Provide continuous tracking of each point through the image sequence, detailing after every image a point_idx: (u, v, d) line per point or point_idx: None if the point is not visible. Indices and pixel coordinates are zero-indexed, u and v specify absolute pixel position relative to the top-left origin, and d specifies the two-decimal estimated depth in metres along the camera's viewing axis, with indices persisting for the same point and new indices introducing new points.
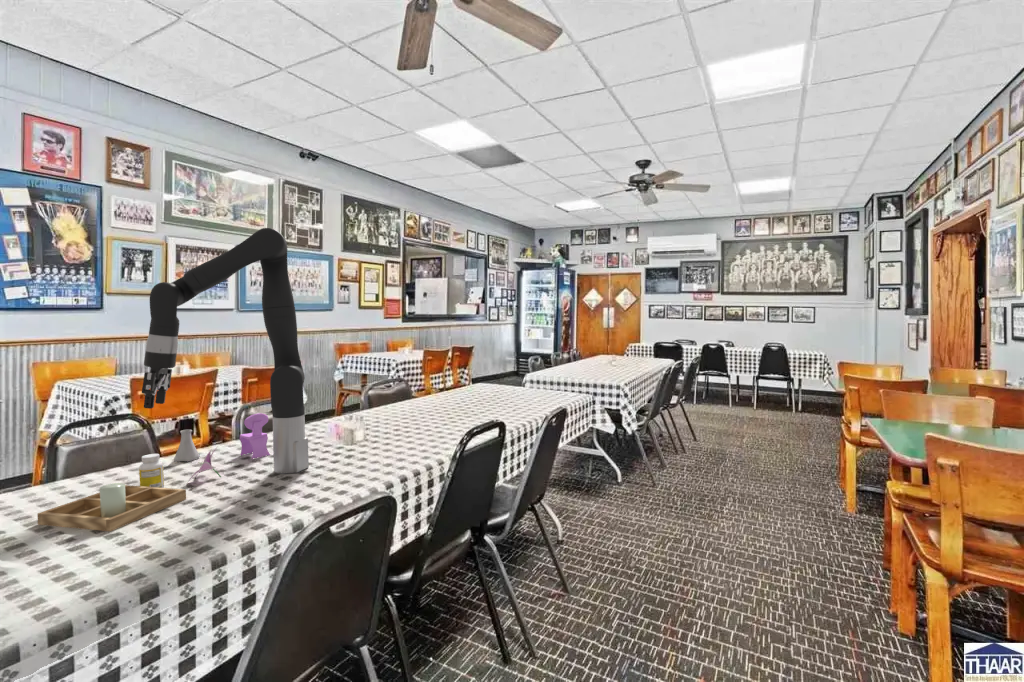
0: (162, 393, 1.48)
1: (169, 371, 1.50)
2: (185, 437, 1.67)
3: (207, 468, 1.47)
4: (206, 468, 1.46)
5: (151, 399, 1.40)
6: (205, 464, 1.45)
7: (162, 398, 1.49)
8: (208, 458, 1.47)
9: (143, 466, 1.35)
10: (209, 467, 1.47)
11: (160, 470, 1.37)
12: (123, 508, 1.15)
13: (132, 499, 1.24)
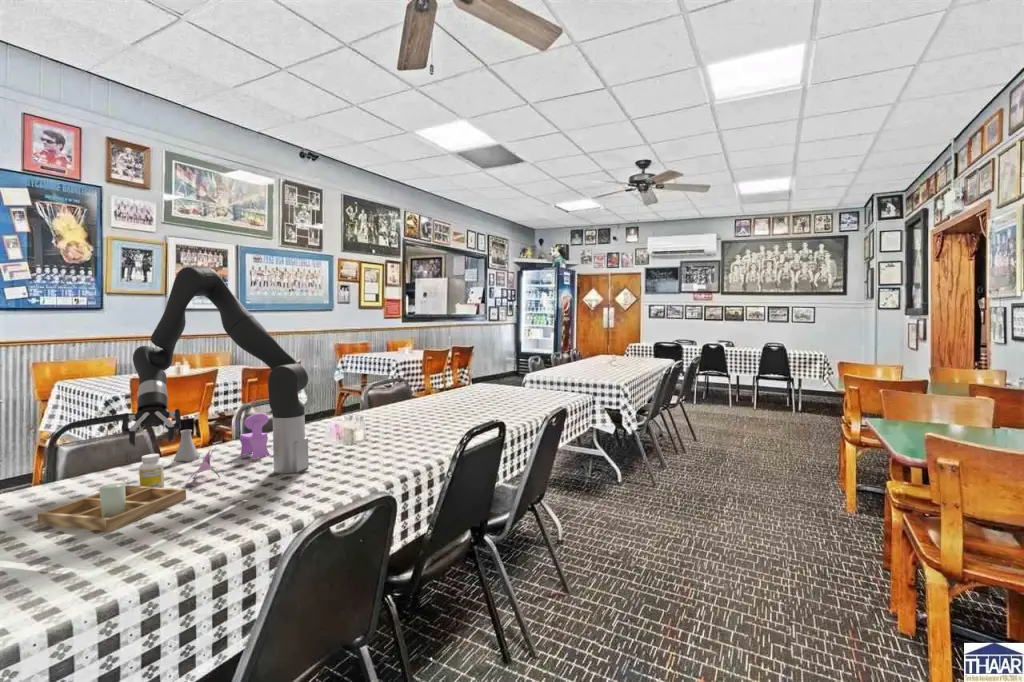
0: (168, 431, 1.48)
1: (175, 411, 1.52)
2: (185, 437, 1.67)
3: (206, 468, 1.46)
4: (205, 468, 1.46)
5: (130, 435, 1.42)
6: (204, 464, 1.45)
7: (168, 434, 1.47)
8: (207, 458, 1.46)
9: (143, 466, 1.35)
10: (208, 467, 1.47)
11: (160, 470, 1.37)
12: (123, 508, 1.15)
13: (132, 499, 1.24)
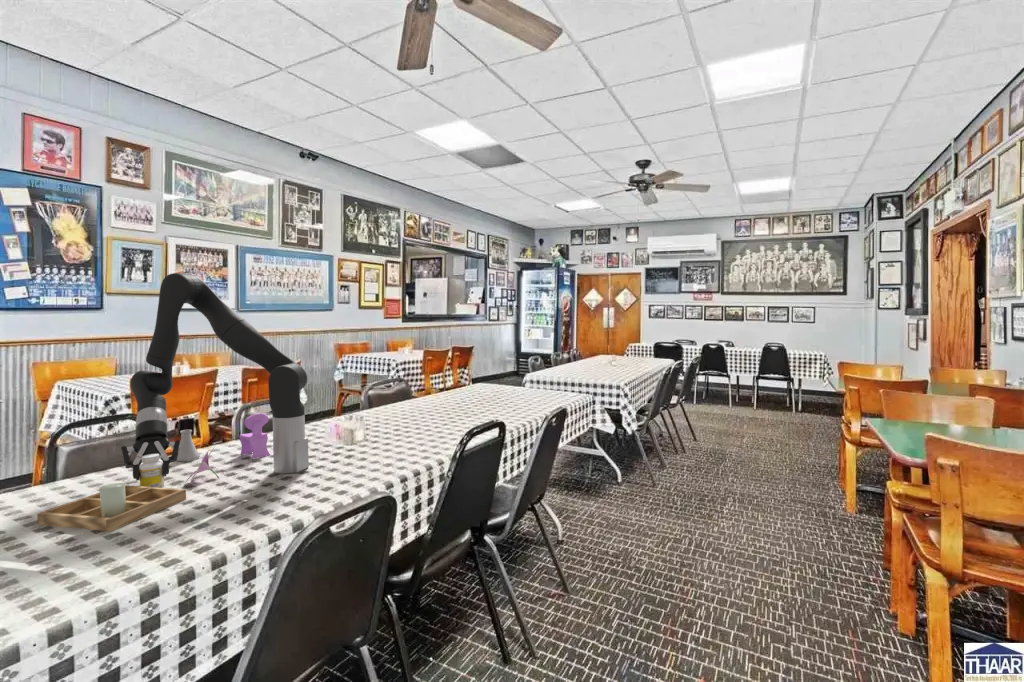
0: None
1: (175, 442, 1.44)
2: (185, 437, 1.67)
3: (205, 469, 1.46)
4: (204, 469, 1.46)
5: (134, 469, 1.35)
6: (203, 465, 1.45)
7: None
8: (206, 458, 1.46)
9: (143, 466, 1.35)
10: (207, 468, 1.46)
11: (160, 470, 1.37)
12: (123, 508, 1.15)
13: (132, 499, 1.24)
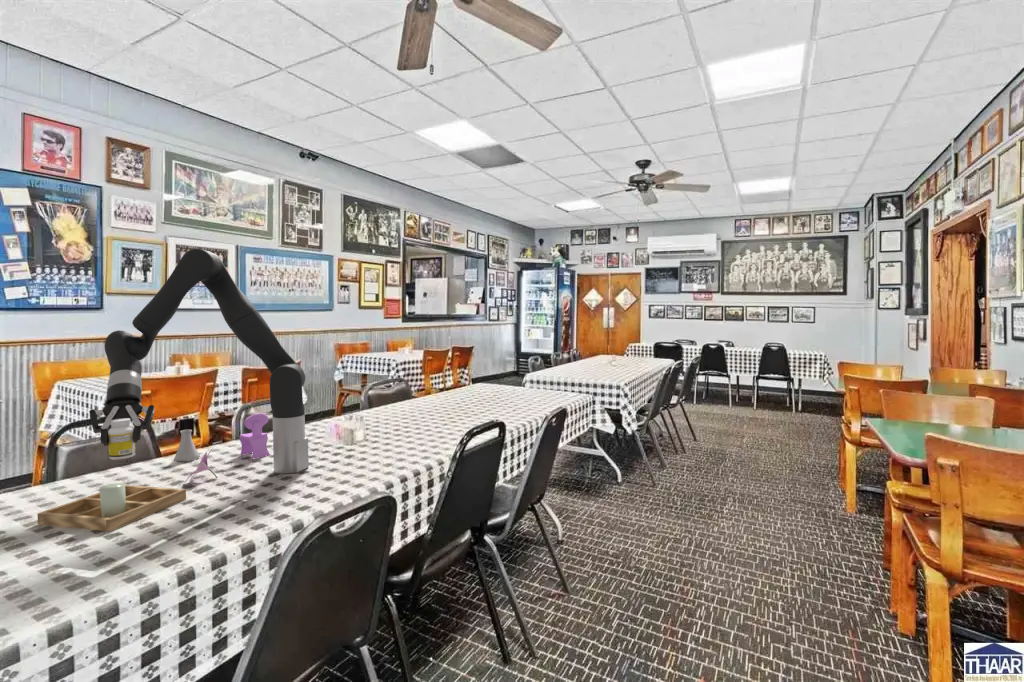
0: (134, 430, 1.29)
1: (148, 407, 1.34)
2: (185, 437, 1.67)
3: (203, 469, 1.46)
4: (202, 469, 1.45)
5: (102, 434, 1.26)
6: (201, 465, 1.44)
7: None
8: (204, 459, 1.46)
9: (112, 430, 1.26)
10: (205, 468, 1.46)
11: (130, 435, 1.28)
12: (123, 508, 1.15)
13: (132, 499, 1.24)
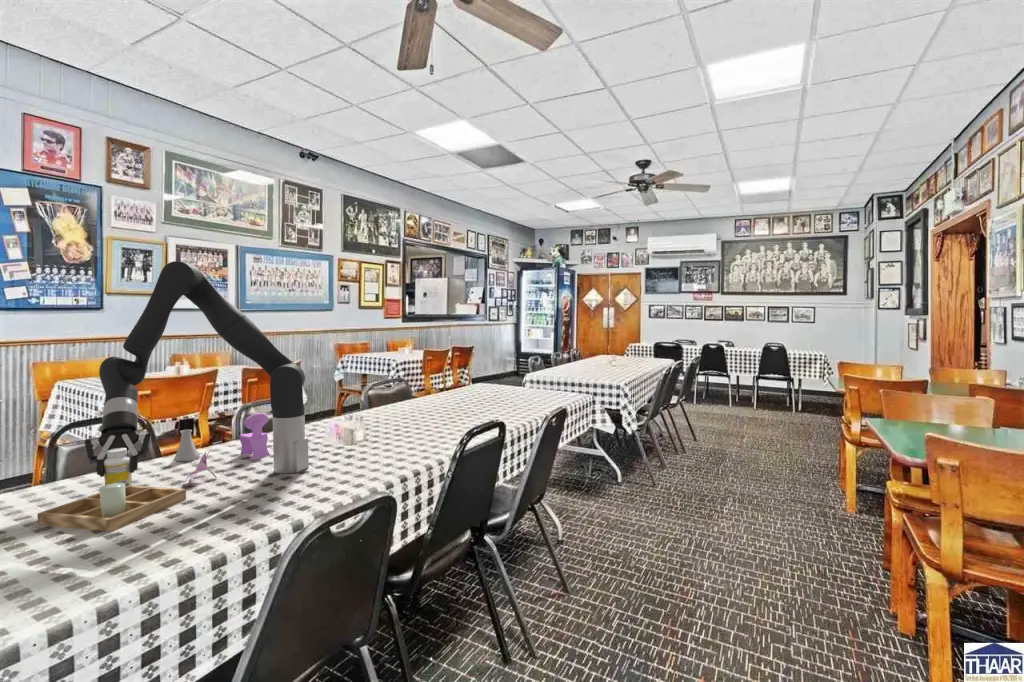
0: (130, 460, 1.28)
1: (145, 435, 1.33)
2: (185, 437, 1.67)
3: (203, 469, 1.46)
4: (202, 469, 1.45)
5: (98, 464, 1.24)
6: (201, 465, 1.44)
7: (130, 464, 1.27)
8: (204, 459, 1.46)
9: (108, 461, 1.24)
10: (205, 468, 1.46)
11: (127, 465, 1.26)
12: (123, 508, 1.15)
13: (132, 499, 1.24)
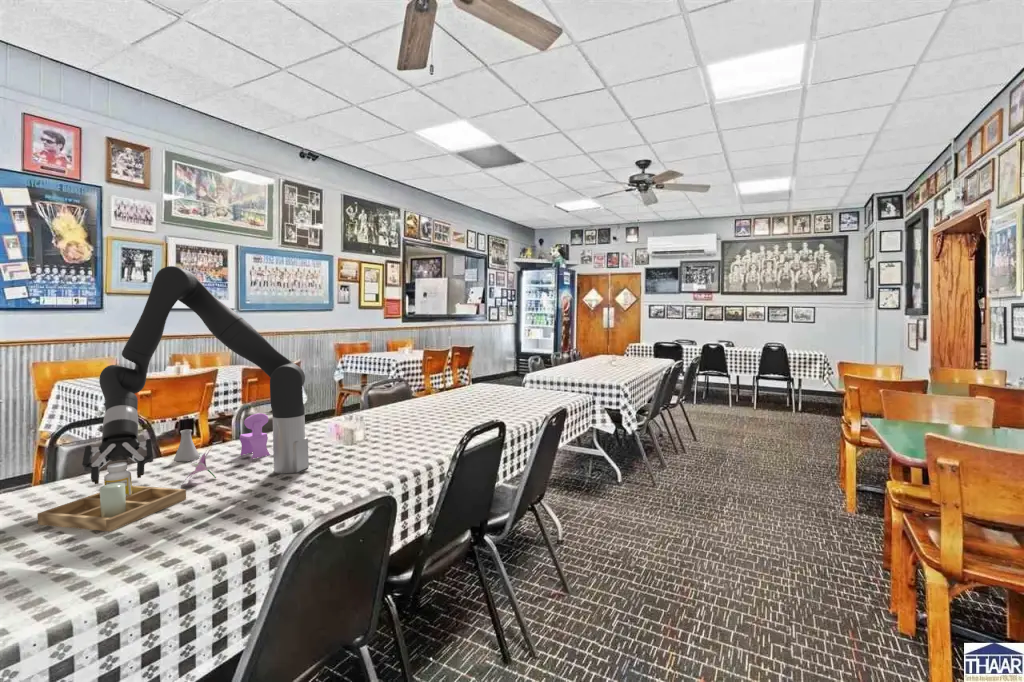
0: (137, 465, 1.29)
1: (146, 441, 1.33)
2: (185, 437, 1.67)
3: (202, 469, 1.45)
4: (201, 469, 1.45)
5: (92, 472, 1.23)
6: (200, 465, 1.44)
7: (137, 469, 1.28)
8: (203, 459, 1.46)
9: (108, 476, 1.24)
10: (204, 468, 1.46)
11: (127, 480, 1.26)
12: (123, 508, 1.15)
13: (132, 499, 1.24)
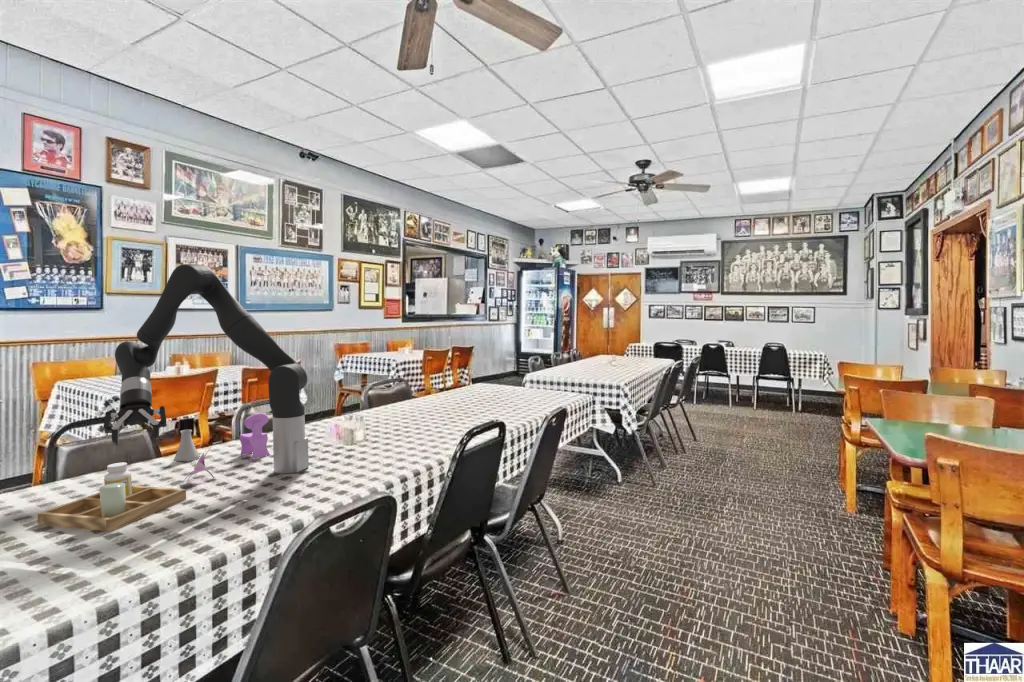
0: None
1: (159, 408, 1.47)
2: (185, 437, 1.67)
3: (201, 469, 1.45)
4: (200, 469, 1.45)
5: (113, 434, 1.37)
6: (199, 465, 1.44)
7: None
8: (202, 459, 1.45)
9: (108, 476, 1.24)
10: (203, 468, 1.46)
11: (127, 480, 1.26)
12: (123, 508, 1.15)
13: (132, 499, 1.24)
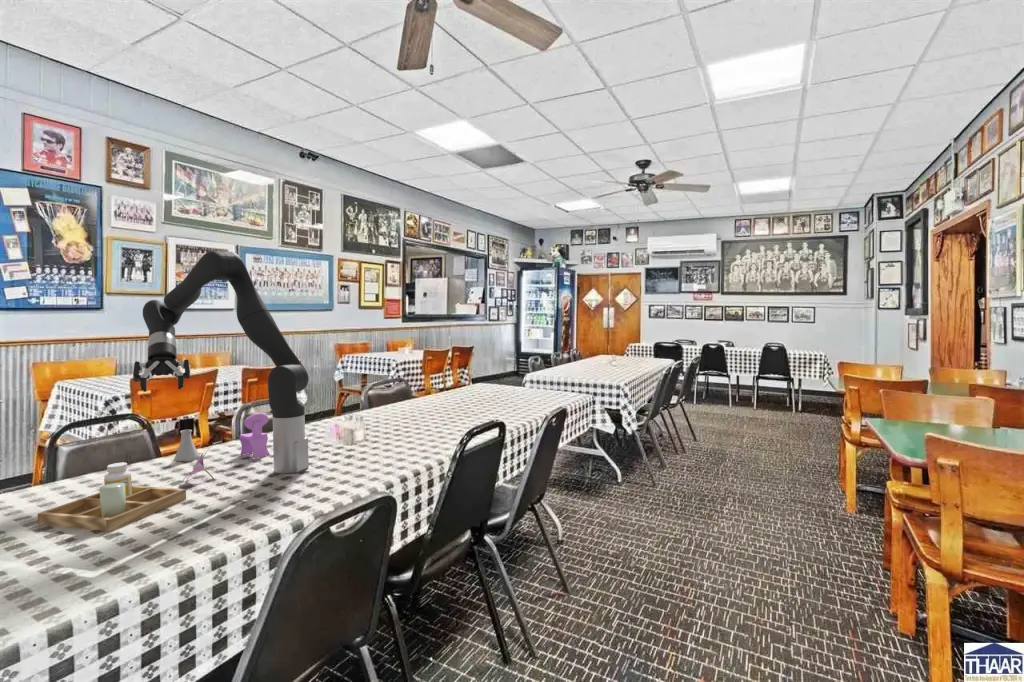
0: None
1: (184, 361, 1.57)
2: (185, 437, 1.67)
3: (199, 470, 1.45)
4: (199, 470, 1.45)
5: (141, 381, 1.47)
6: (198, 466, 1.43)
7: None
8: (200, 460, 1.45)
9: (108, 476, 1.24)
10: (201, 469, 1.45)
11: (127, 480, 1.26)
12: (123, 508, 1.15)
13: (132, 499, 1.24)
